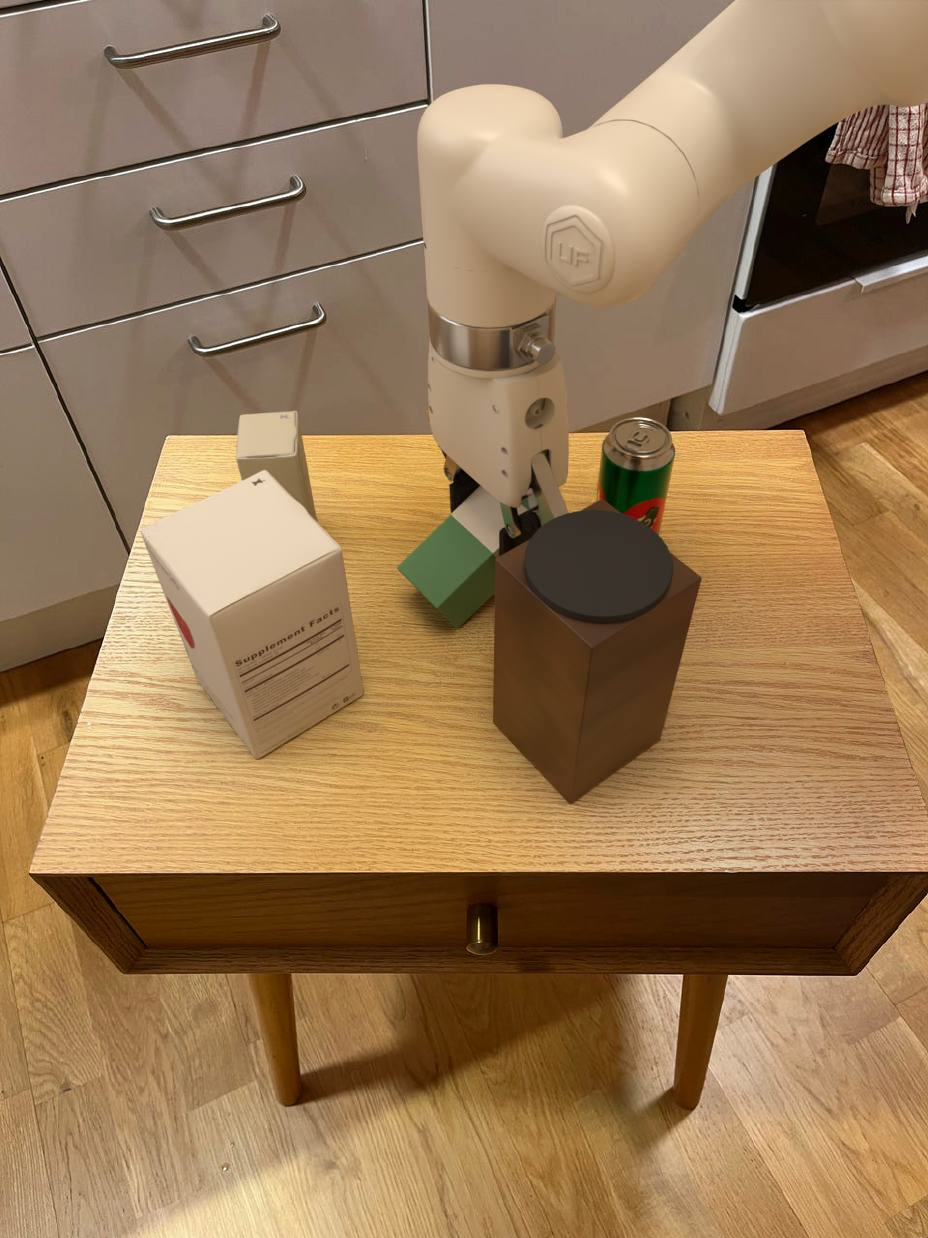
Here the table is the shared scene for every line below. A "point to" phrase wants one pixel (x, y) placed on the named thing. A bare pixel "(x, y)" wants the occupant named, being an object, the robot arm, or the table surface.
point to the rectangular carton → (259, 609)
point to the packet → (460, 558)
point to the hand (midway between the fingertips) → (494, 538)
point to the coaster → (598, 566)
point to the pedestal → (584, 676)
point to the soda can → (637, 469)
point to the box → (275, 453)
